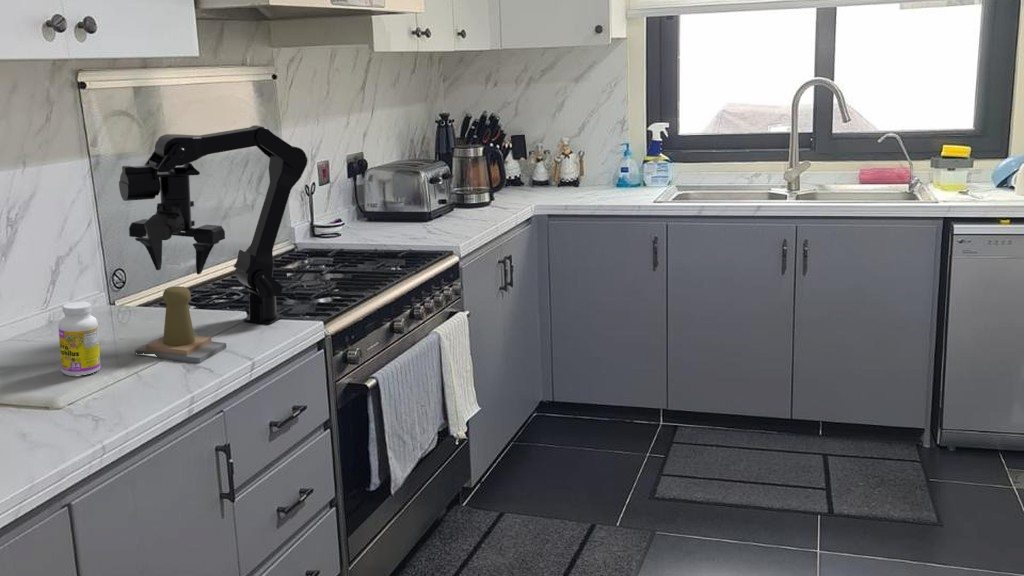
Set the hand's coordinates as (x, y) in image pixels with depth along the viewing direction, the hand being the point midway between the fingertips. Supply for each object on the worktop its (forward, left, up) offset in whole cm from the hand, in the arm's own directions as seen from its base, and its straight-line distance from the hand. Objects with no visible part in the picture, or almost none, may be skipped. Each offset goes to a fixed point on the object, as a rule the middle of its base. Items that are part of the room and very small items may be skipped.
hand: (178, 272), depth 204 cm
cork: (+11, +6, -11) cm, 17 cm away
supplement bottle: (+28, -4, -13) cm, 31 cm away
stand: (+11, +7, -13) cm, 19 cm away
